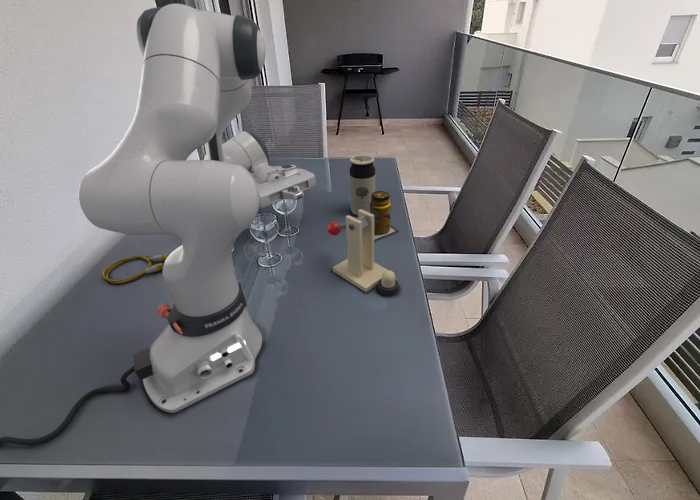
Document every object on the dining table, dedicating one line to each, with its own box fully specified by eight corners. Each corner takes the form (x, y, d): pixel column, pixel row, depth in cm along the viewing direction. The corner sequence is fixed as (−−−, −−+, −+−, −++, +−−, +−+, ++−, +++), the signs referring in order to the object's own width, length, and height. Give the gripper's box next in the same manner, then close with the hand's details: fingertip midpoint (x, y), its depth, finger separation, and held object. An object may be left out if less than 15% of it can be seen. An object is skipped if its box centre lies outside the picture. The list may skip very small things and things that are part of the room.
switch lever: (328, 238, 90) (322, 225, 90) (338, 232, 92) (333, 220, 92) (361, 232, 79) (355, 217, 78) (372, 226, 81) (366, 211, 80)
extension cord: (147, 287, 88) (144, 281, 87) (93, 282, 90) (90, 276, 89) (175, 259, 98) (173, 253, 96) (126, 255, 100) (123, 249, 99)
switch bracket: (332, 271, 90) (327, 214, 81) (357, 256, 95) (355, 201, 86) (366, 292, 83) (365, 232, 73) (390, 275, 88) (392, 217, 78)
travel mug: (355, 204, 121) (354, 153, 110) (377, 207, 118) (378, 155, 108) (347, 215, 114) (345, 162, 104) (371, 218, 112) (371, 164, 102)
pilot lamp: (389, 299, 81) (389, 281, 78) (373, 289, 84) (373, 272, 81) (402, 289, 84) (403, 271, 80) (387, 280, 86) (387, 262, 83)
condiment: (395, 231, 105) (397, 195, 98) (373, 240, 101) (373, 203, 95) (381, 221, 110) (381, 186, 103) (359, 230, 106) (358, 194, 100)
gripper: (238, 183, 96) (265, 198, 88) (297, 162, 108) (326, 174, 99) (243, 204, 100) (269, 220, 92) (300, 181, 111) (328, 194, 103)
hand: (299, 196), depth 96 cm, fingers closed
